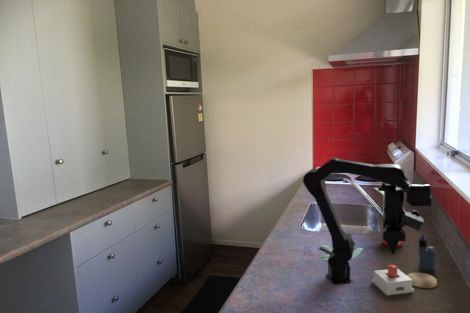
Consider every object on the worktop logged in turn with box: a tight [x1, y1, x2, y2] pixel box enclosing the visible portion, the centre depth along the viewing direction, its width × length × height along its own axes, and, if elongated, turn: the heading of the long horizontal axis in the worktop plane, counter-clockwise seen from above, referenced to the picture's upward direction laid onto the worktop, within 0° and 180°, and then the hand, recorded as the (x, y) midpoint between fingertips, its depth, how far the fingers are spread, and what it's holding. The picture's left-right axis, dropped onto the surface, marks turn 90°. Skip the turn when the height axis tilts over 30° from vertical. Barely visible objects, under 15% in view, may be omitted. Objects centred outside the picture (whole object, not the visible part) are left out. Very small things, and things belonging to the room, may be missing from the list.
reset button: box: [387, 264, 398, 278], centre depth 120 cm, size 3×3×4 cm
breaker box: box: [371, 267, 415, 296], centre depth 120 cm, size 9×9×4 cm
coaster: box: [406, 271, 438, 289], centre depth 123 cm, size 9×9×1 cm
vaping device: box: [418, 234, 436, 271], centre depth 131 cm, size 3×5×12 cm, turn 56°
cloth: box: [319, 244, 363, 262], centre depth 150 cm, size 20×22×2 cm
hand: (393, 251), depth 119 cm, fingers open, 3 cm apart
